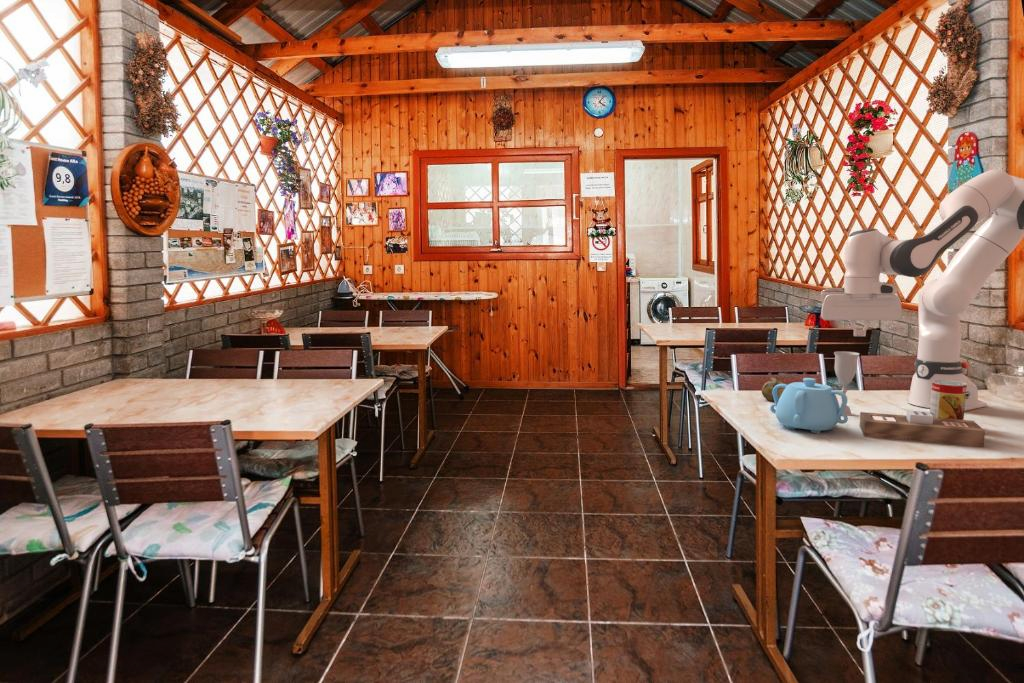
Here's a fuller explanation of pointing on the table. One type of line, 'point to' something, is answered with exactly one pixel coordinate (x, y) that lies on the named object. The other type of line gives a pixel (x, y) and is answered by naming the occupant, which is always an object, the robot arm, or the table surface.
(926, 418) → the tile two
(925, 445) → the table surface
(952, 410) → the canned food
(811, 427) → the decorative pot
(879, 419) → the tile one
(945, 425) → the tile three
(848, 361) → the chalice
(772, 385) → the onion
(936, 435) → the button board
